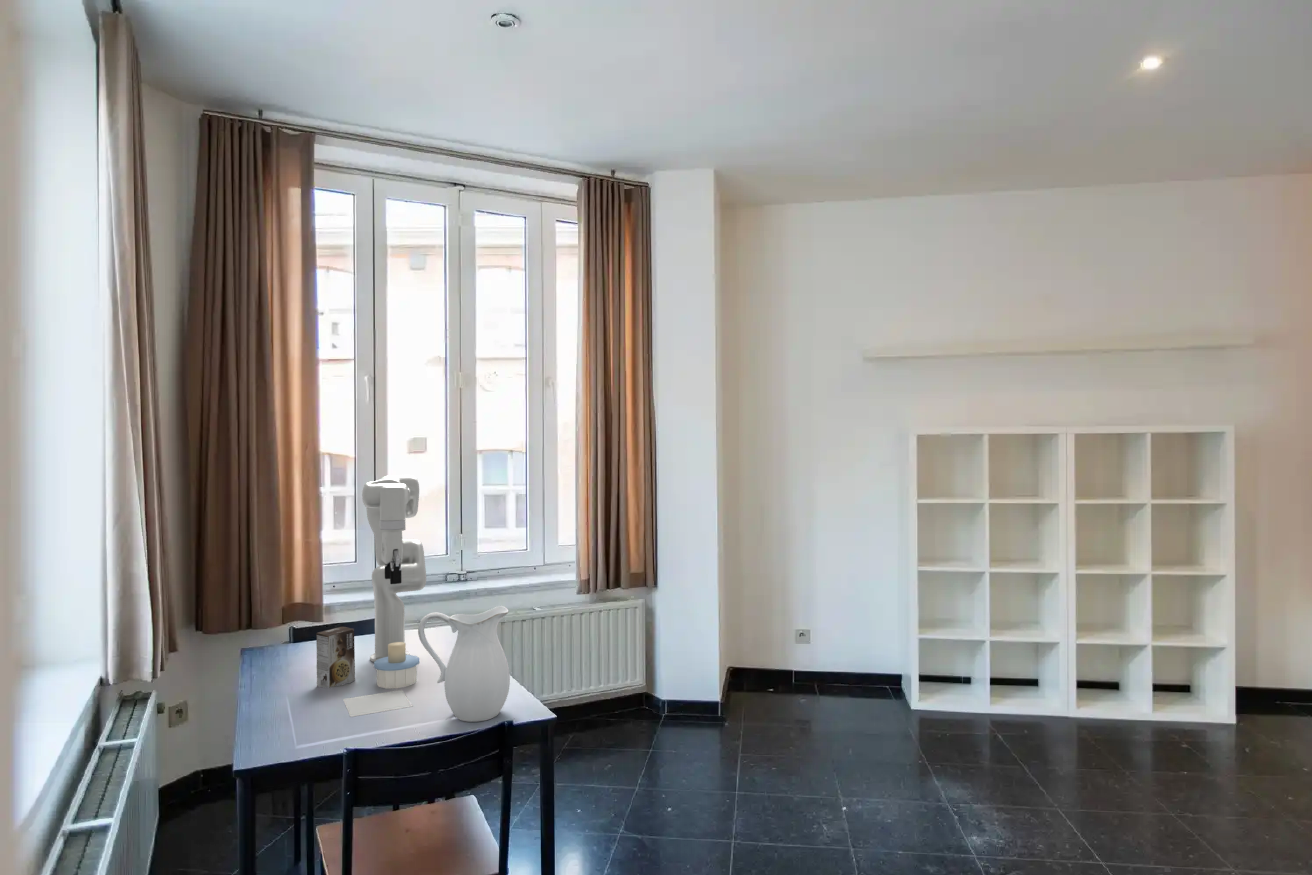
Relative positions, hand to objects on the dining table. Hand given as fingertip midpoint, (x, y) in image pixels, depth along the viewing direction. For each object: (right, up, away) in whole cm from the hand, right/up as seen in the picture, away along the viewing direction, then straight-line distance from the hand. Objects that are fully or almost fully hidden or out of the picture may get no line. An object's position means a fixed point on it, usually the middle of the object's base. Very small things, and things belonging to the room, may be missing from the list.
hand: (392, 581), depth 234 cm
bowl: (+3, -30, -5) cm, 31 cm away
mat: (+4, -30, -23) cm, 38 cm away
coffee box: (-16, -30, -4) cm, 35 cm away
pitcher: (+30, -30, -32) cm, 53 cm away
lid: (+3, -24, -5) cm, 25 cm away
